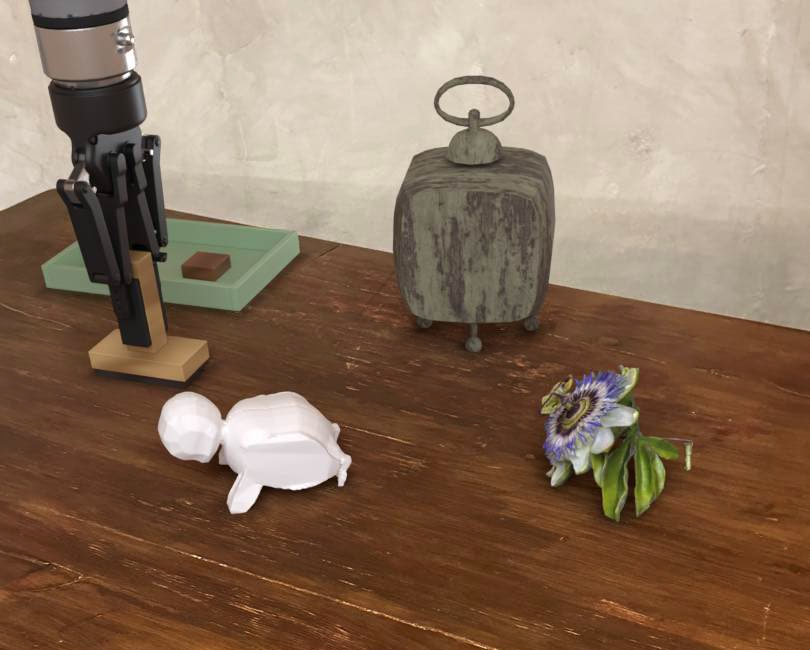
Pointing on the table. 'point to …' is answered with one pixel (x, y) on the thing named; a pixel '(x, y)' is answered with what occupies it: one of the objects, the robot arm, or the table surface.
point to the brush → (166, 356)
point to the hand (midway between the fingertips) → (145, 336)
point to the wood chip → (206, 266)
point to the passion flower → (605, 439)
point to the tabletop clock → (475, 227)
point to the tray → (247, 246)
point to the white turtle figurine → (256, 442)
